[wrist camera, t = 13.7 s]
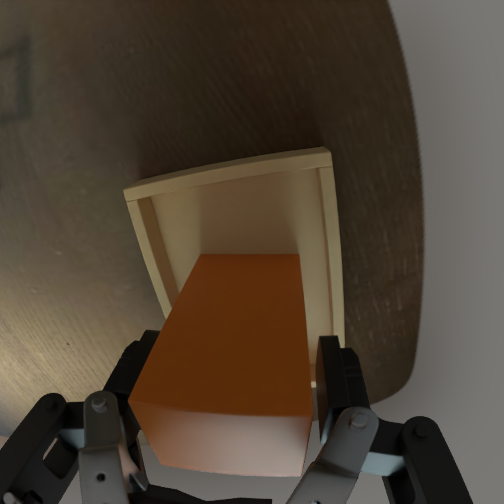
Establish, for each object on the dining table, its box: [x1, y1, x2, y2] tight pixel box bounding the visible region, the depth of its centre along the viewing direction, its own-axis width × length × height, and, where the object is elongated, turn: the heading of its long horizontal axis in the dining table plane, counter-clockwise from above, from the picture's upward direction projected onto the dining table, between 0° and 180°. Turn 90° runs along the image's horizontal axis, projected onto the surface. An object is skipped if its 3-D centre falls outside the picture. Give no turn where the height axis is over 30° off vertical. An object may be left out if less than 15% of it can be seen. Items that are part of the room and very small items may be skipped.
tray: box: [123, 147, 345, 387], centre depth 16 cm, size 13×9×2 cm
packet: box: [128, 254, 313, 477], centre depth 12 cm, size 5×4×10 cm
